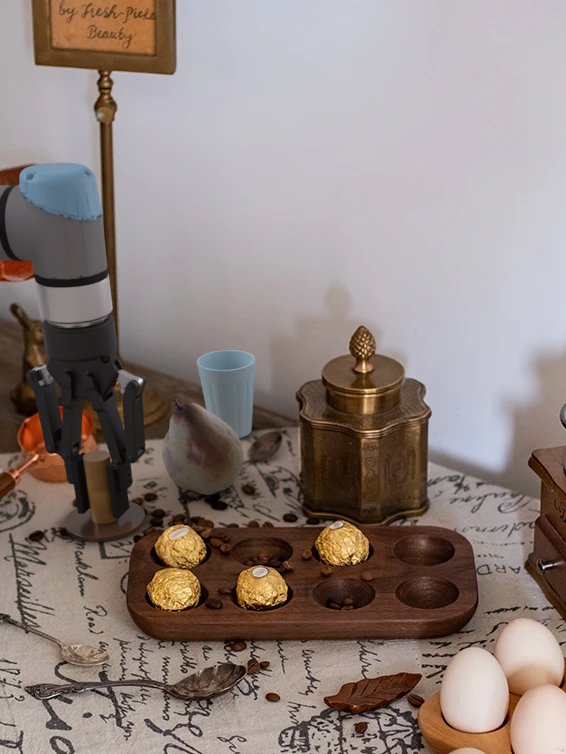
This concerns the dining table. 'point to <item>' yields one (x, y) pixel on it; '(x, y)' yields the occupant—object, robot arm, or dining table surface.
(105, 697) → the dining table surface
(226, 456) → the fruit
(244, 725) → the dining table surface
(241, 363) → the cup
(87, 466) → the lid
